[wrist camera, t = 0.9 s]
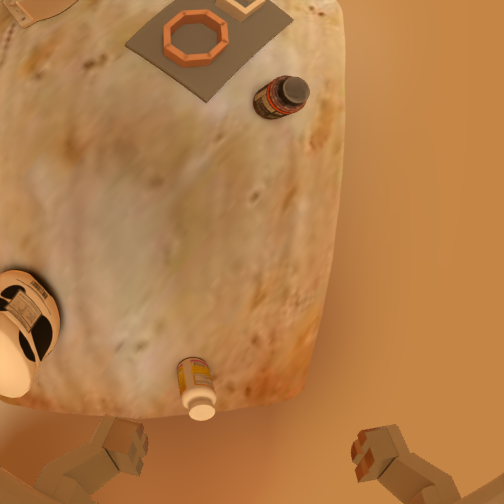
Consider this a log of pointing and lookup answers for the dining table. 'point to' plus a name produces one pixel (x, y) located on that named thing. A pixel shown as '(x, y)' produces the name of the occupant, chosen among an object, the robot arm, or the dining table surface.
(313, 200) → the dining table surface
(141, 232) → the dining table surface
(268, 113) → the supplement bottle
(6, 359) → the milk container
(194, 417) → the supplement bottle
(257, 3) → the socket board
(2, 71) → the dining table surface
